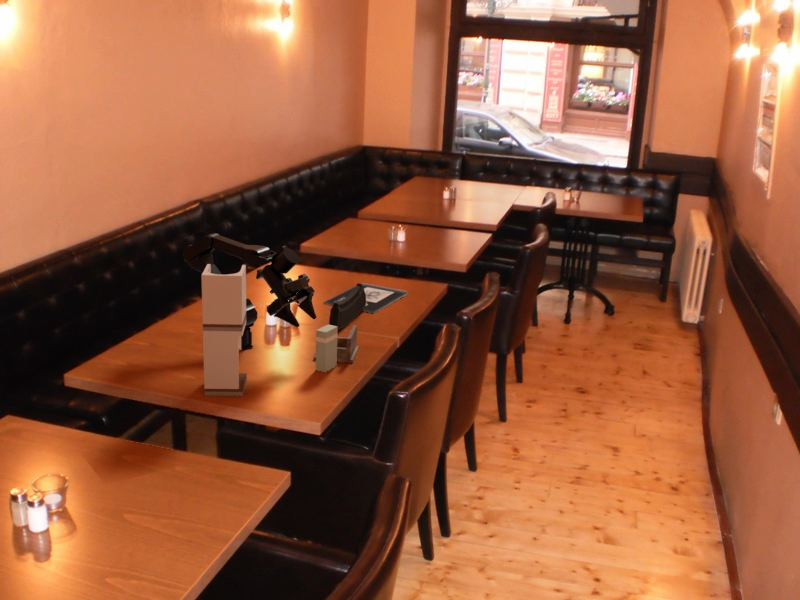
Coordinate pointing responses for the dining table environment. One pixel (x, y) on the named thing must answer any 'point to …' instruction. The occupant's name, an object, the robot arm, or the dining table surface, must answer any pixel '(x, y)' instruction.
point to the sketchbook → (372, 297)
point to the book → (326, 348)
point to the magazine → (348, 308)
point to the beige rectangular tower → (223, 331)
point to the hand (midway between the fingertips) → (307, 322)
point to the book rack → (347, 347)
